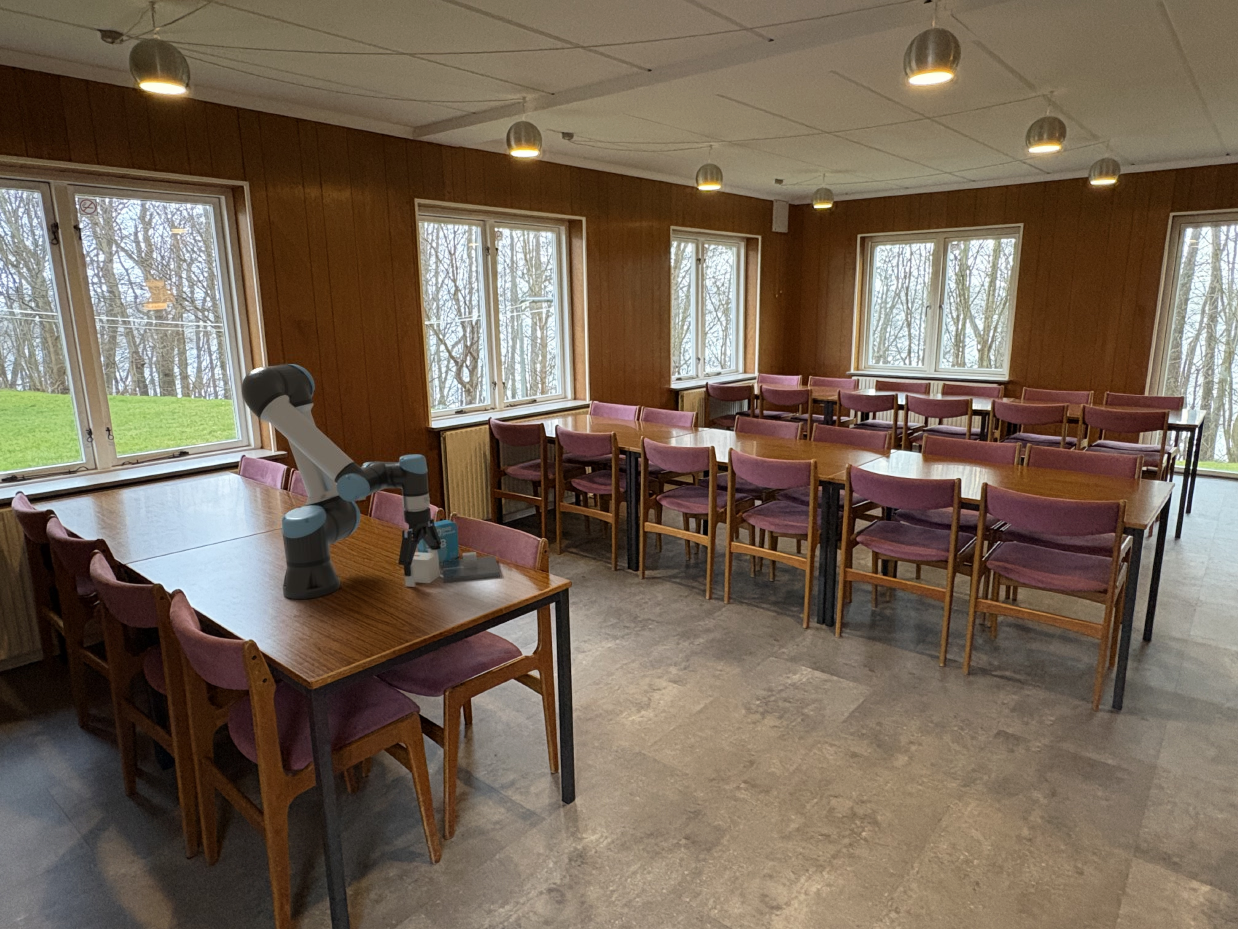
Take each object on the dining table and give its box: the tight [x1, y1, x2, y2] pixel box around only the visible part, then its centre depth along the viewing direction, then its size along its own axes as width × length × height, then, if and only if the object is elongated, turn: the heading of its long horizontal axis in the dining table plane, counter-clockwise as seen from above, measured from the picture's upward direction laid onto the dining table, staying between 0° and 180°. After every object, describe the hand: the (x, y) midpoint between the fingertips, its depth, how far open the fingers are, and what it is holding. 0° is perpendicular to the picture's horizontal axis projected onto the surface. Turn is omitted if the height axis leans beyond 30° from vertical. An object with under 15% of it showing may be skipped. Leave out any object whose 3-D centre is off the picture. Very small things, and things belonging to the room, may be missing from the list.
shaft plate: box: [442, 551, 501, 584], centre depth 233 cm, size 16×16×6 cm
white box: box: [412, 551, 441, 584], centre depth 227 cm, size 6×8×7 cm
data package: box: [416, 519, 460, 564], centre depth 243 cm, size 12×4×12 cm, turn 130°
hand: (422, 578), depth 228 cm, fingers open, 13 cm apart
